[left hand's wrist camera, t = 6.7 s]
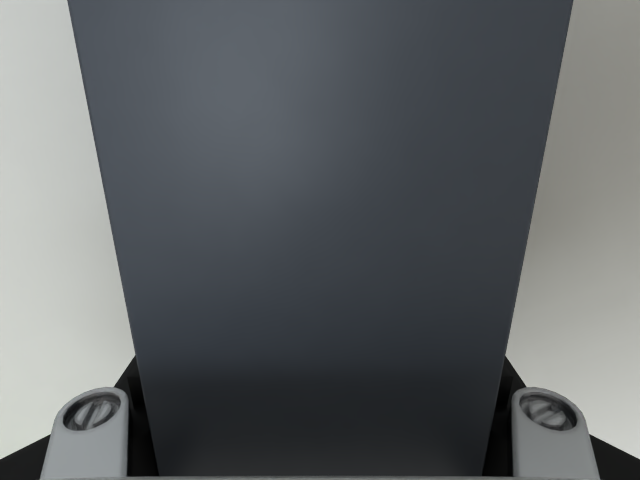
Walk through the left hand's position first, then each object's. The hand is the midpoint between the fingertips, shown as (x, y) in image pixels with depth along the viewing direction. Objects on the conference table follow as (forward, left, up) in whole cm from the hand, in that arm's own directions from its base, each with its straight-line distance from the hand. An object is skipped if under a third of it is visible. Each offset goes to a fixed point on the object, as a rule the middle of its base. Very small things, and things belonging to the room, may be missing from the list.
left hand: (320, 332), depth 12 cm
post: (-9, -29, -2) cm, 31 cm away
